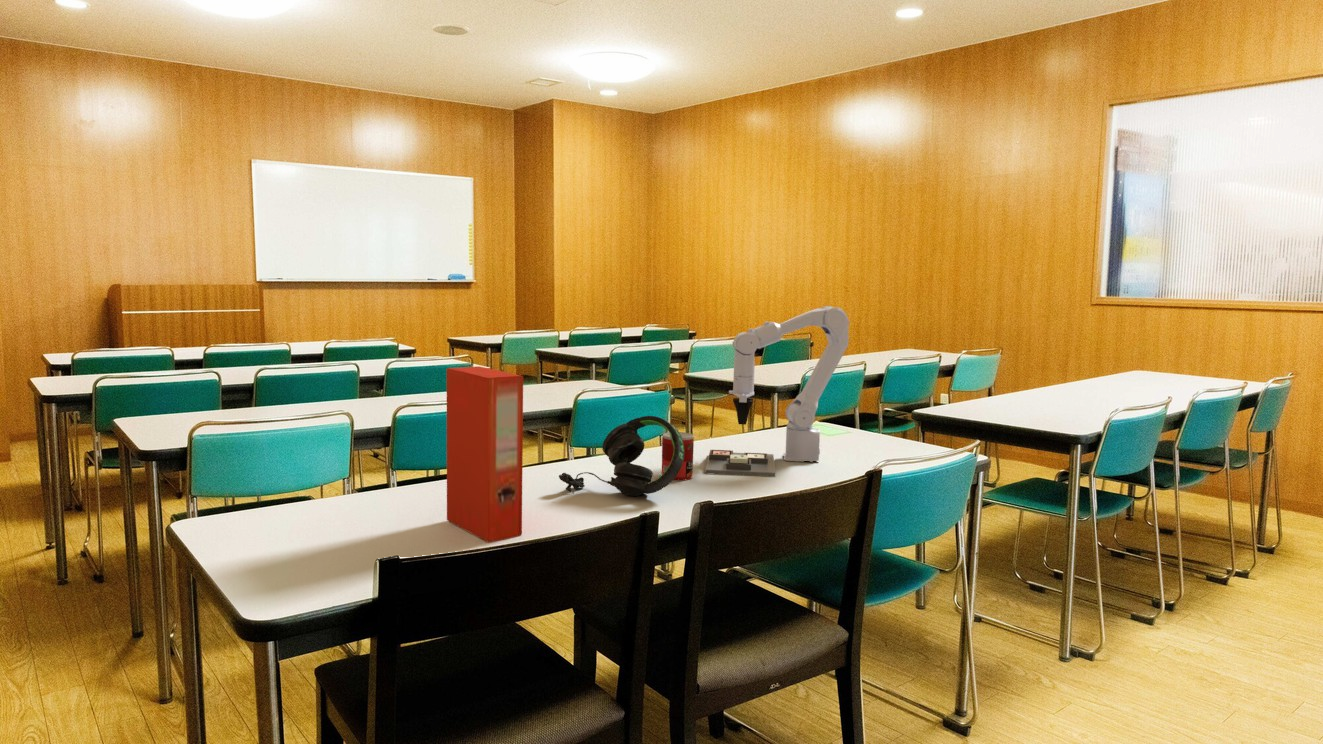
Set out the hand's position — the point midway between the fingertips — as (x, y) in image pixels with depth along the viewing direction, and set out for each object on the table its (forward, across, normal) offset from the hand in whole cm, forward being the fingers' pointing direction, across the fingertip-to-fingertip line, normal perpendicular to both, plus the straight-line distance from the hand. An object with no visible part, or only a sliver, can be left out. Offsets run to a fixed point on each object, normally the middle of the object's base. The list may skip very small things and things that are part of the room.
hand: (742, 424), depth 239 cm
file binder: (+10, +73, -51) cm, 90 cm away
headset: (+10, +43, -27) cm, 52 cm away
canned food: (+10, +24, -16) cm, 31 cm away
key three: (+9, +4, -5) cm, 11 cm away
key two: (+7, +14, -1) cm, 16 cm away
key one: (+9, +6, +4) cm, 11 cm away
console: (+10, +8, 0) cm, 13 cm away
